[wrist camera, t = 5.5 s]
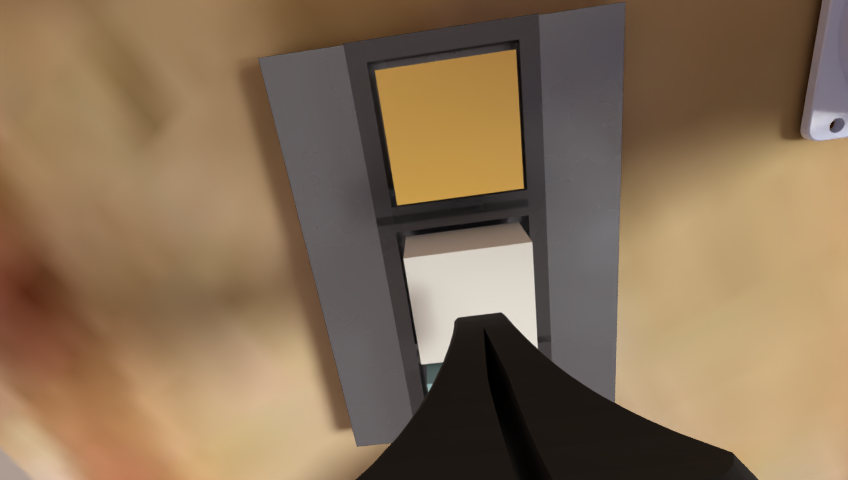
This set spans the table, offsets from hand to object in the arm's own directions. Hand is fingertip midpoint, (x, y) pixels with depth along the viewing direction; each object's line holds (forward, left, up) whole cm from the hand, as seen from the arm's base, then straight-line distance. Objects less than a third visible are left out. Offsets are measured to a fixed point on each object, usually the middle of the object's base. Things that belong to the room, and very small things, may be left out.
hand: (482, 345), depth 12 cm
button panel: (0, 0, -6) cm, 6 cm away
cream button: (0, 0, -4) cm, 4 cm away
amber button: (0, -6, -5) cm, 7 cm away
